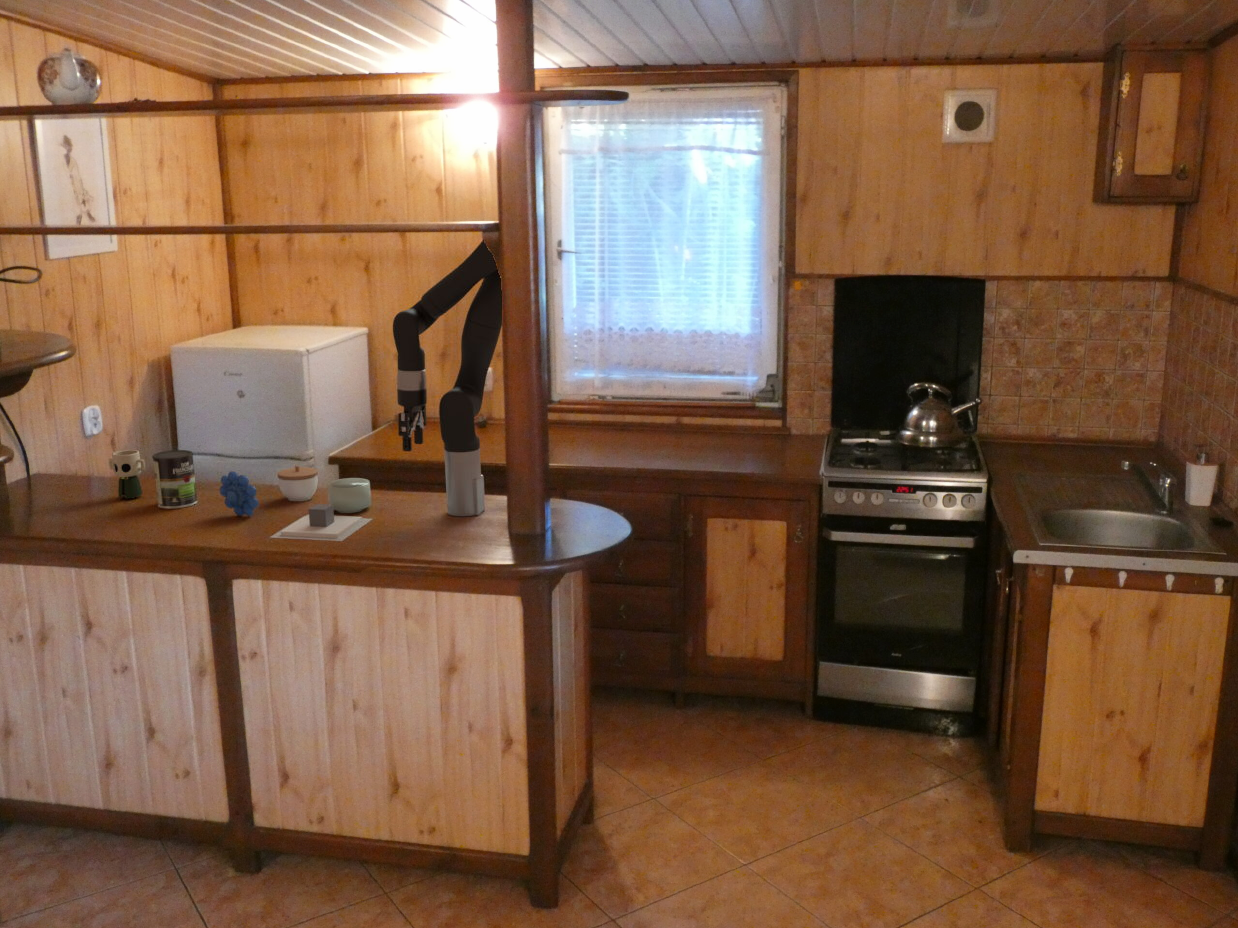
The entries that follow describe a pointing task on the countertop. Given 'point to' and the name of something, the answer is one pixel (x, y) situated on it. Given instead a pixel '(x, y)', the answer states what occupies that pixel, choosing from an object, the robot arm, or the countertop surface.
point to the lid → (321, 523)
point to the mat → (341, 538)
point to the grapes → (238, 493)
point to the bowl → (349, 494)
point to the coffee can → (175, 479)
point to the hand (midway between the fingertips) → (413, 447)
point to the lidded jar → (298, 483)
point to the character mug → (127, 472)
